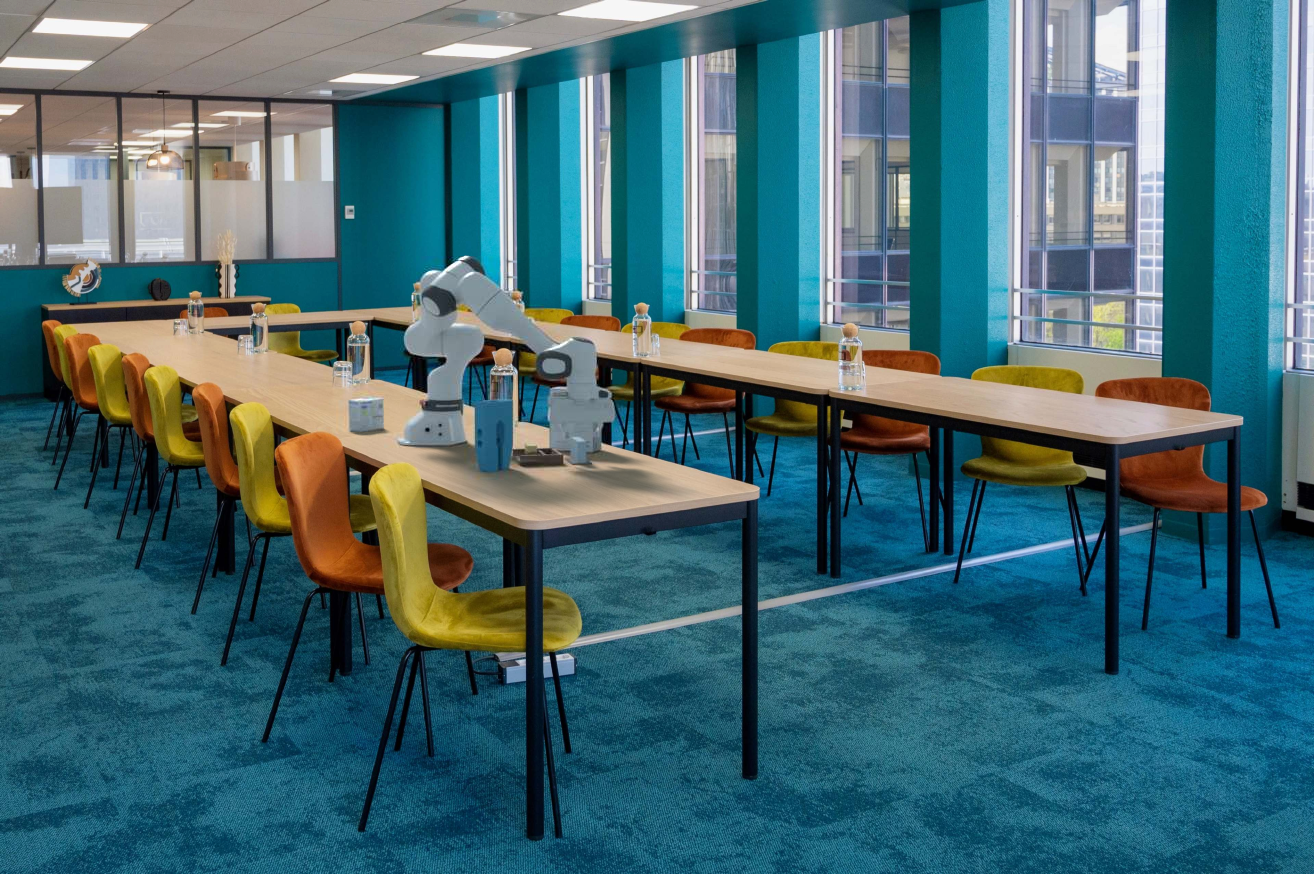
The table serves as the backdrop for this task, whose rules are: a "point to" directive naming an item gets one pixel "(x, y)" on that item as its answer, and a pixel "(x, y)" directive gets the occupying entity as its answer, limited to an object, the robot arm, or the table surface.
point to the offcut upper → (531, 447)
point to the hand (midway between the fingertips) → (581, 437)
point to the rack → (538, 457)
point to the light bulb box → (366, 414)
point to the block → (493, 434)
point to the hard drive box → (573, 432)
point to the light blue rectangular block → (578, 449)
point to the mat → (576, 462)
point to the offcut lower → (530, 453)
